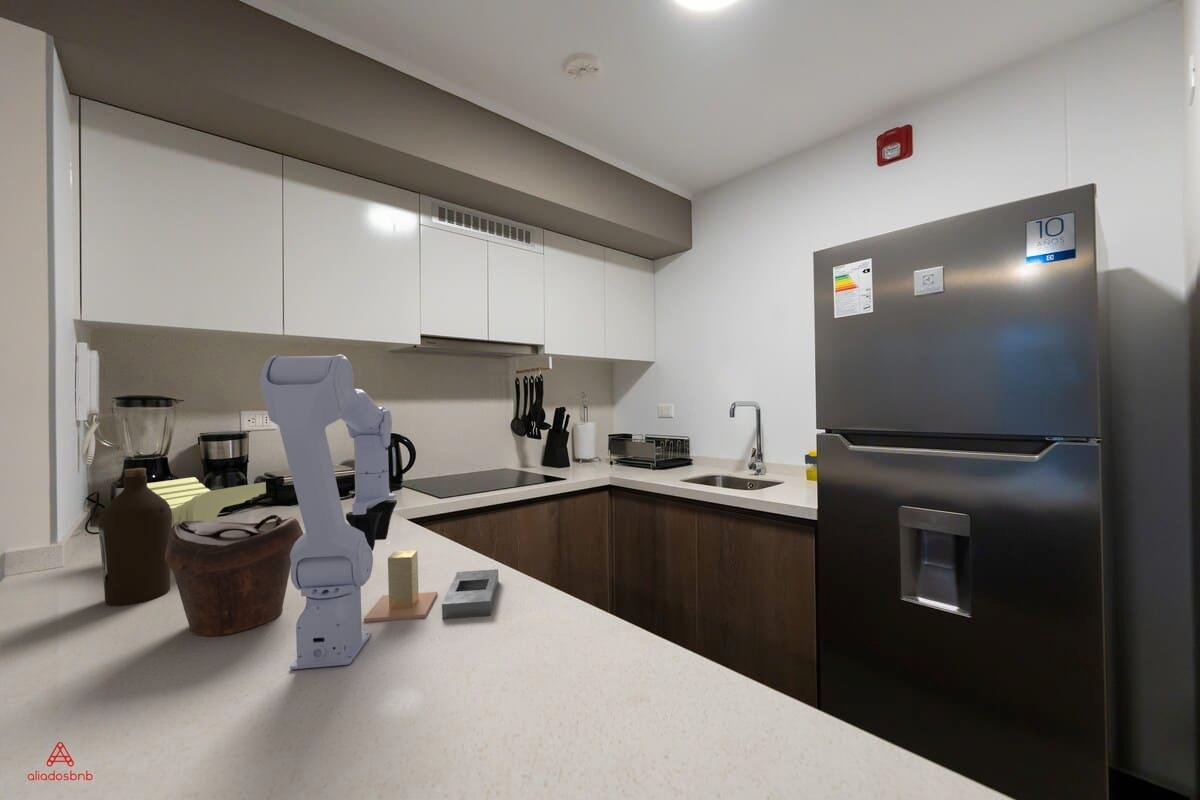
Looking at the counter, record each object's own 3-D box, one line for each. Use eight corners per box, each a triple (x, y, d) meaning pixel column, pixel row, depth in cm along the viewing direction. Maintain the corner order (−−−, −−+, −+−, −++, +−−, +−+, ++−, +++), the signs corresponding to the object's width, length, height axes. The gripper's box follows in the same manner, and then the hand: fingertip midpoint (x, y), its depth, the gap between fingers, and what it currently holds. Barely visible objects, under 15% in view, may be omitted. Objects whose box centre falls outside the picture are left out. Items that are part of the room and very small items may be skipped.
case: (327, 608, 90) (323, 508, 90) (190, 659, 73) (184, 536, 73) (279, 591, 100) (275, 501, 100) (148, 632, 83) (144, 524, 83)
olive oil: (178, 582, 106) (175, 463, 106) (168, 599, 97) (164, 469, 96) (110, 593, 100) (106, 468, 100) (91, 612, 91) (88, 474, 91)
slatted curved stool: (122, 559, 123) (120, 487, 123) (196, 541, 137) (194, 477, 137) (194, 574, 111) (192, 493, 111) (267, 553, 125) (265, 481, 125)
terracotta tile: (425, 617, 85) (425, 614, 85) (363, 622, 84) (363, 618, 84) (437, 595, 95) (437, 591, 95) (382, 598, 94) (382, 595, 94)
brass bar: (412, 608, 88) (411, 556, 88) (389, 609, 87) (387, 558, 87) (418, 599, 92) (417, 550, 92) (396, 600, 91) (394, 551, 91)
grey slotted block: (490, 615, 86) (490, 600, 86) (442, 618, 85) (441, 604, 85) (498, 581, 101) (498, 569, 101) (458, 584, 101) (457, 571, 101)
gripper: (382, 476, 86) (384, 555, 86) (404, 465, 101) (406, 533, 101) (338, 478, 85) (340, 558, 85) (368, 467, 100) (369, 535, 100)
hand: (373, 545), depth 93 cm, fingers open, 7 cm apart
